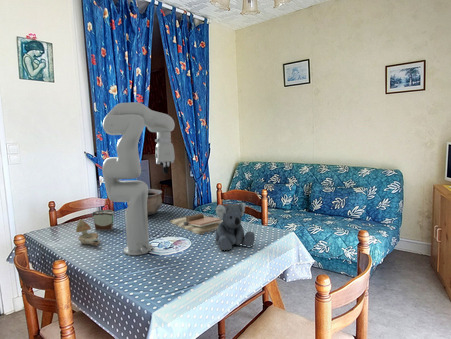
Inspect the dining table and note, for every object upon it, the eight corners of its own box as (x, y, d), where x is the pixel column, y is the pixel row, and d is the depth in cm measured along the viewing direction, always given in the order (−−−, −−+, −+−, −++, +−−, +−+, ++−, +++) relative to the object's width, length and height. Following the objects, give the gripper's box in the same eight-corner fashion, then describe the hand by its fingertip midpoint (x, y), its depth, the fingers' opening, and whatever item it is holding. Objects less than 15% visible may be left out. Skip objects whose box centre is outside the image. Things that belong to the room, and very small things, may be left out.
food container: (119, 226, 177) (118, 209, 176) (114, 230, 171) (113, 212, 170) (98, 226, 178) (97, 209, 177) (92, 230, 172) (91, 212, 171)
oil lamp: (90, 235, 163) (88, 217, 162) (106, 246, 147) (105, 225, 146) (72, 240, 157) (71, 220, 156) (87, 251, 141) (85, 229, 140)
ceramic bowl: (153, 208, 217) (152, 187, 215) (169, 214, 201) (168, 191, 199) (122, 214, 203) (120, 192, 202) (136, 221, 187) (135, 196, 185)
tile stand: (229, 226, 172) (229, 218, 171) (199, 234, 160) (198, 226, 159) (198, 216, 195) (198, 209, 195) (170, 222, 183) (170, 215, 182)
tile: (208, 216, 182) (208, 219, 182) (187, 221, 173) (187, 224, 173) (221, 218, 172) (221, 221, 172) (200, 223, 163) (200, 226, 163)
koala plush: (221, 253, 134) (219, 209, 132) (207, 240, 151) (206, 200, 148) (257, 247, 141) (256, 204, 138) (240, 235, 157) (239, 197, 155)
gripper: (154, 141, 168) (156, 175, 170) (179, 140, 177) (180, 172, 179) (148, 141, 173) (150, 174, 176) (172, 140, 183) (174, 171, 185)
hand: (165, 173), depth 177 cm, fingers closed
